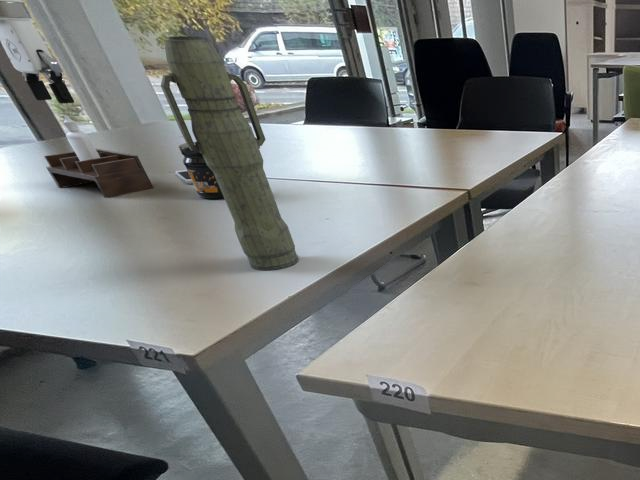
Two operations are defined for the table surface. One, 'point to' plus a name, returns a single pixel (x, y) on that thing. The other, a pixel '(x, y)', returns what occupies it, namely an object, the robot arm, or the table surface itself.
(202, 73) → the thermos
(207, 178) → the supplement container
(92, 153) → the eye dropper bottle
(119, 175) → the shelf
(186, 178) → the smartphone
